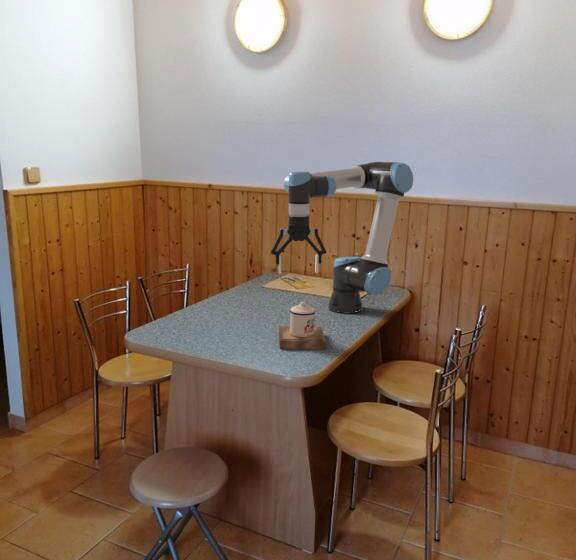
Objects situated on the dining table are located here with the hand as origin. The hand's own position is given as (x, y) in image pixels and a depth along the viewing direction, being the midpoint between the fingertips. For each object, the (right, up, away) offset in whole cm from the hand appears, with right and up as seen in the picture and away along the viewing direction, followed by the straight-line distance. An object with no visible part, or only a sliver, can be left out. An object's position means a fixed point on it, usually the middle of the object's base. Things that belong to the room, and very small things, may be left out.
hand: (298, 272), depth 203 cm
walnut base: (+1, -25, -4) cm, 25 cm away
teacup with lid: (+2, -22, -5) cm, 22 cm away
